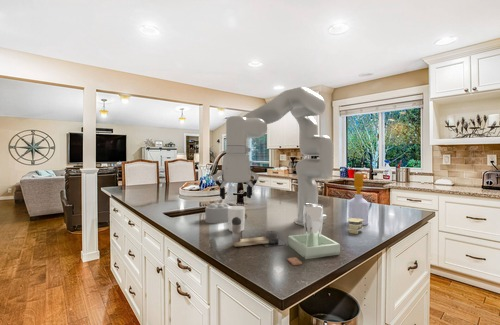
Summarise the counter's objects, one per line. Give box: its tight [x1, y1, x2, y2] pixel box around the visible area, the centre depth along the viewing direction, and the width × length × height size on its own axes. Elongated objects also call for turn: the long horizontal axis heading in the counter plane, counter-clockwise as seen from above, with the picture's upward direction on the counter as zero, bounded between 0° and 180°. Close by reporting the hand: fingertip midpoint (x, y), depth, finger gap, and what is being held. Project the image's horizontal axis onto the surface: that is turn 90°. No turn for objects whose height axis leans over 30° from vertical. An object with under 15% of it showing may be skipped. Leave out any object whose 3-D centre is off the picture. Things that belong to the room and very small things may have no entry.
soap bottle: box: [347, 172, 369, 226], centre depth 124 cm, size 9×9×25 cm
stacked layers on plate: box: [348, 218, 364, 235], centre depth 110 cm, size 10×9×6 cm
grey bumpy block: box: [204, 201, 230, 224], centre depth 129 cm, size 10×13×9 cm
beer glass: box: [303, 203, 324, 247], centre depth 90 cm, size 7×7×15 cm
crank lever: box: [231, 217, 280, 247], centre depth 95 cm, size 18×5×10 cm, turn 107°
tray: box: [287, 233, 341, 260], centre depth 89 cm, size 13×13×4 cm
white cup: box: [227, 205, 246, 232], centre depth 113 cm, size 8×8×10 cm
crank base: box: [262, 238, 303, 266], centre depth 89 cm, size 8×24×1 cm, turn 17°
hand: (236, 198), depth 92 cm, fingers open, 9 cm apart
